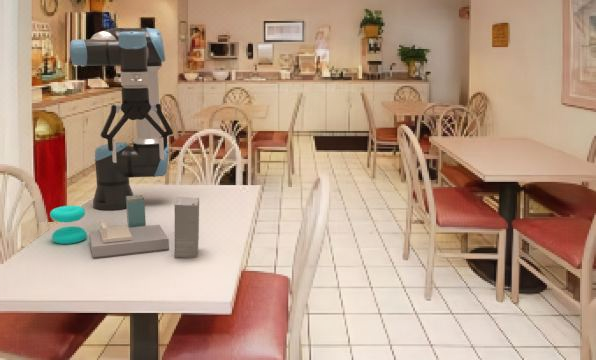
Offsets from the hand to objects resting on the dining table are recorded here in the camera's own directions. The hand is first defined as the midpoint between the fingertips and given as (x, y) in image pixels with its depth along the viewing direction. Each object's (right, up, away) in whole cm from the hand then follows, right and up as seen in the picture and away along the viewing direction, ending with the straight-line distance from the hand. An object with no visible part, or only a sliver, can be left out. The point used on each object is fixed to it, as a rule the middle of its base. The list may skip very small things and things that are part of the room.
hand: (138, 160), depth 181 cm
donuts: (-23, -24, +9) cm, 35 cm away
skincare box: (+15, -27, -4) cm, 31 cm away
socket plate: (-4, -25, +3) cm, 26 cm away
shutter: (-7, -22, +1) cm, 23 cm away
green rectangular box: (-4, -23, +15) cm, 28 cm away
